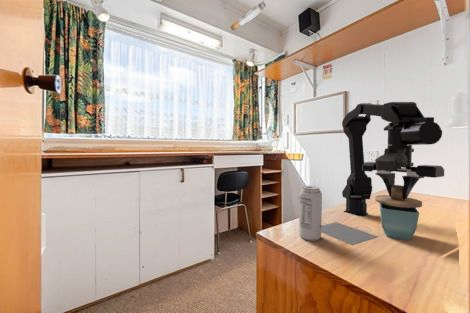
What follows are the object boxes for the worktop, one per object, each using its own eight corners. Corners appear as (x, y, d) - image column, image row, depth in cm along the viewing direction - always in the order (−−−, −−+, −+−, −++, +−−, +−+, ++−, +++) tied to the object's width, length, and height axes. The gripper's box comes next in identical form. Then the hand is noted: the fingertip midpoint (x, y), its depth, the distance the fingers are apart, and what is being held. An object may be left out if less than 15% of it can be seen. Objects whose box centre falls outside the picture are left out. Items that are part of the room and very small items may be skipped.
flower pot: (418, 245, 58) (419, 212, 58) (379, 238, 63) (380, 208, 63) (413, 234, 66) (414, 205, 65) (378, 229, 70) (379, 201, 70)
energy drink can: (325, 241, 60) (326, 188, 60) (305, 243, 59) (306, 189, 59) (313, 233, 66) (314, 185, 66) (295, 235, 65) (296, 185, 65)
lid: (367, 200, 66) (368, 184, 66) (387, 196, 71) (388, 181, 71) (409, 209, 57) (410, 190, 56) (429, 204, 62) (430, 187, 61)
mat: (311, 229, 70) (311, 227, 70) (336, 223, 76) (336, 222, 76) (352, 246, 58) (352, 244, 58) (378, 237, 63) (378, 236, 63)
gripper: (352, 145, 68) (350, 194, 68) (426, 144, 51) (423, 209, 52) (372, 145, 73) (371, 191, 74) (446, 144, 56) (443, 203, 57)
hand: (397, 197), depth 64 cm, fingers closed on lid, 3 cm apart
